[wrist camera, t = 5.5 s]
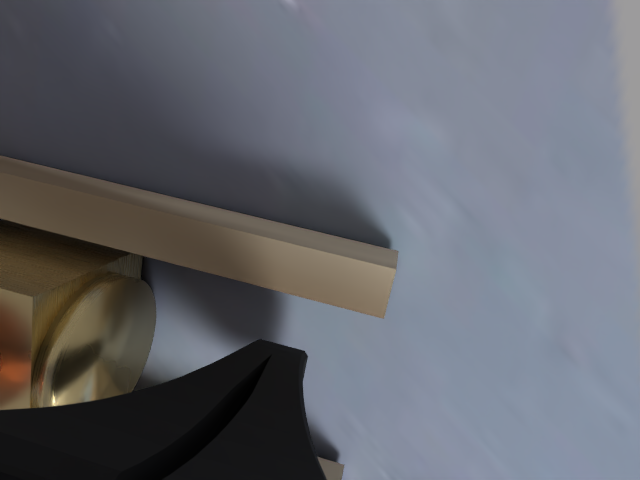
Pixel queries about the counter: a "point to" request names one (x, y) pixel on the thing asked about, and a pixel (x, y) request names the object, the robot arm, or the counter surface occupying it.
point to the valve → (69, 319)
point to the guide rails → (201, 240)
